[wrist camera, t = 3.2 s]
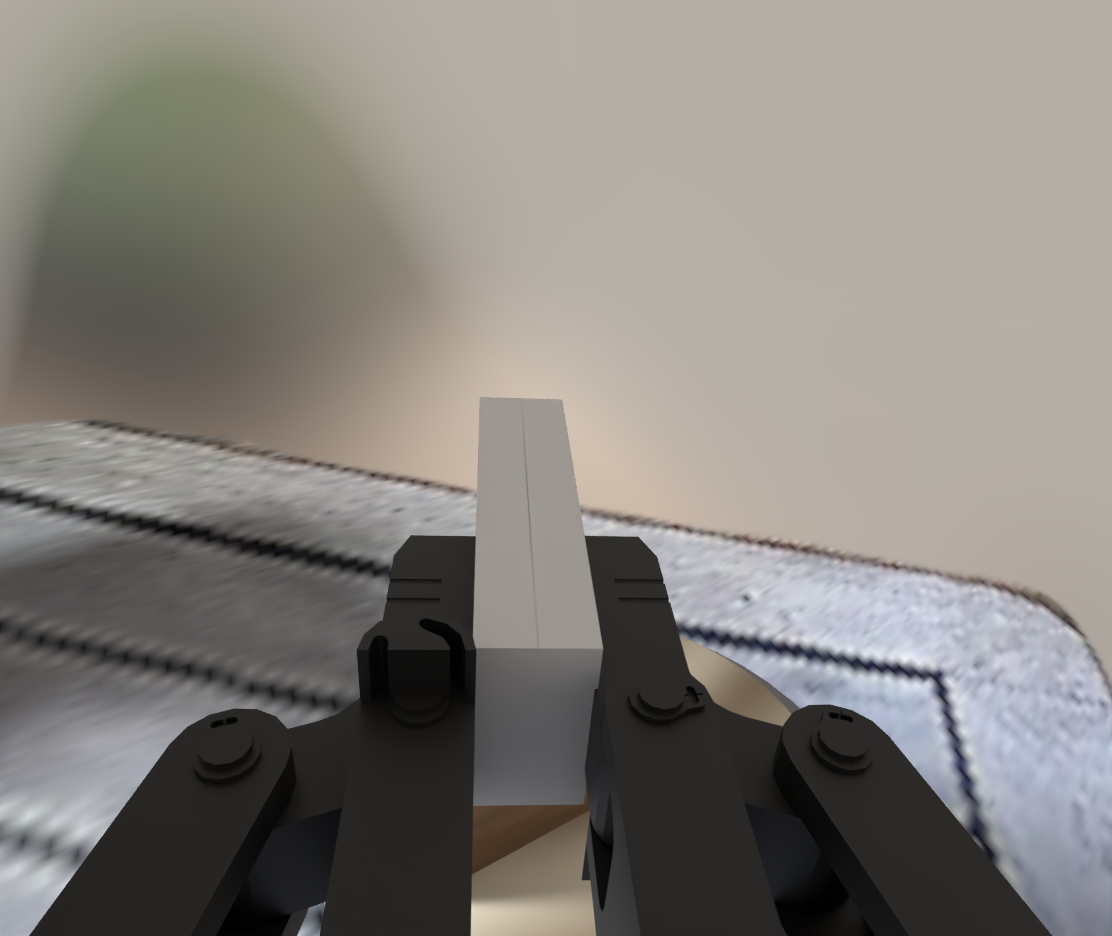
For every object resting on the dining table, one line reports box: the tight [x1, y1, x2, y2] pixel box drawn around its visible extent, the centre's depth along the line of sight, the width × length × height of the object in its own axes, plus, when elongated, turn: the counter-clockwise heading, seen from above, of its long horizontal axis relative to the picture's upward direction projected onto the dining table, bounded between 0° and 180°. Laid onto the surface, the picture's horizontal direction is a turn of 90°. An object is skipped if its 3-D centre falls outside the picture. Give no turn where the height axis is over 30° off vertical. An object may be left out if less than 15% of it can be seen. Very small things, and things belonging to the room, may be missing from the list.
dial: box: [471, 637, 791, 936], centre depth 32 cm, size 18×18×12 cm
